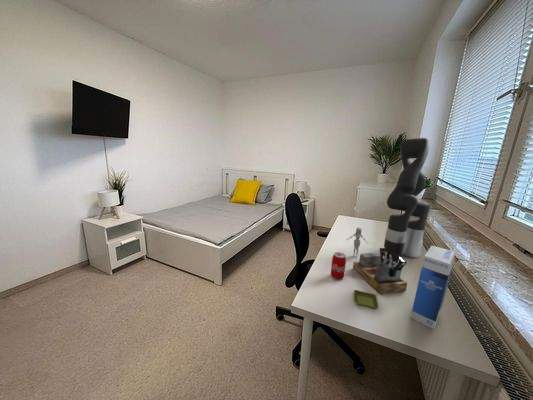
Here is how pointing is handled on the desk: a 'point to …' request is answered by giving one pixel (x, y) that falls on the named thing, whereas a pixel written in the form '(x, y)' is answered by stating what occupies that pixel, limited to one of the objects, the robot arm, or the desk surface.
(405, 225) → the robot arm
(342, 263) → the beverage can
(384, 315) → the desk surface
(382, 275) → the rectangular block
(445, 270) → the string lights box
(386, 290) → the rack
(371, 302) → the saucer
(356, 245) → the human figurine
